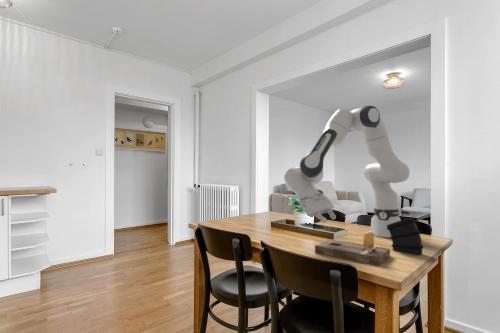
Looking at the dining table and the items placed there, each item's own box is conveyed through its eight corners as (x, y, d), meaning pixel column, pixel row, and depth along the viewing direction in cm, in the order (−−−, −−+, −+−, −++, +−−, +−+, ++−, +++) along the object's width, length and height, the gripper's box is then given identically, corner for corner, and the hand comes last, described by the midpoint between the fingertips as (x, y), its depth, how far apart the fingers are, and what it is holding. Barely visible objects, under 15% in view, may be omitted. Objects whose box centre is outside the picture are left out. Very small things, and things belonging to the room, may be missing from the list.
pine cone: (327, 225, 177) (326, 209, 177) (320, 227, 169) (320, 211, 169) (301, 222, 188) (301, 207, 188) (294, 224, 180) (294, 209, 180)
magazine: (428, 253, 111) (410, 217, 116) (397, 260, 120) (381, 226, 125) (431, 251, 114) (413, 216, 118) (400, 258, 122) (385, 225, 127)
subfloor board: (329, 245, 130) (329, 238, 130) (389, 256, 113) (389, 248, 113) (315, 252, 119) (315, 245, 119) (379, 265, 102) (379, 256, 102)
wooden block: (365, 255, 114) (365, 231, 114) (375, 257, 112) (374, 232, 112) (362, 258, 111) (362, 232, 111) (372, 259, 109) (371, 234, 109)
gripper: (302, 193, 119) (324, 219, 113) (323, 190, 135) (343, 212, 129) (293, 203, 122) (314, 228, 116) (315, 199, 138) (334, 220, 131)
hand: (330, 220), depth 122 cm, fingers open, 8 cm apart
